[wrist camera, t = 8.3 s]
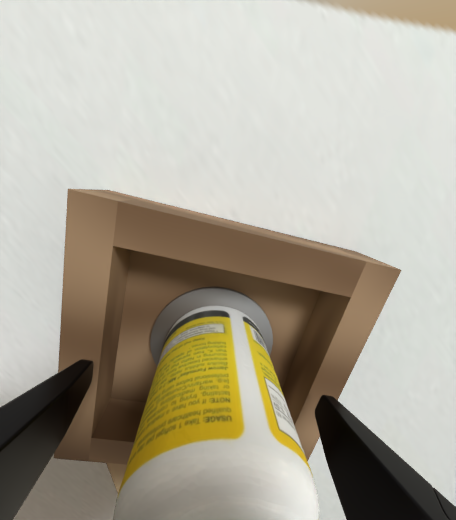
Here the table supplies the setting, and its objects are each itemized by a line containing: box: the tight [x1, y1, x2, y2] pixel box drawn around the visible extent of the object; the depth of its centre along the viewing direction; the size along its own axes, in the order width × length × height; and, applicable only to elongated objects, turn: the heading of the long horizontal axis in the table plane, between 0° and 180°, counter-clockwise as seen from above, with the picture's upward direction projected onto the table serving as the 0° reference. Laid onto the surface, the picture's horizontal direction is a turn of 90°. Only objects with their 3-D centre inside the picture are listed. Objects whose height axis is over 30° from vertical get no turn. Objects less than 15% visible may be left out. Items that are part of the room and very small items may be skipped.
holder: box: [54, 189, 401, 465], centre depth 11 cm, size 12×12×3 cm
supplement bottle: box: [113, 306, 319, 520], centre depth 7 cm, size 5×5×8 cm
